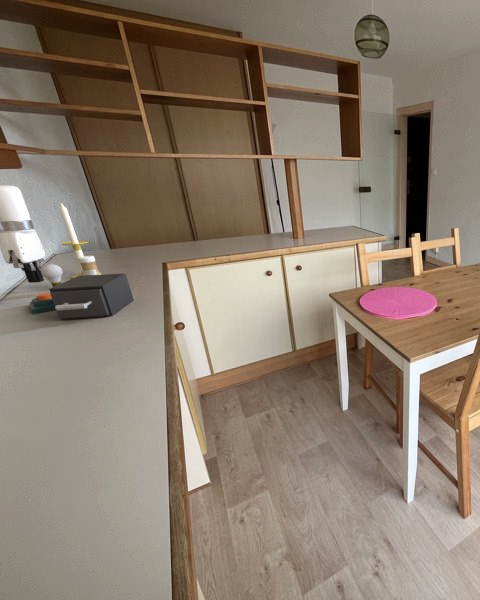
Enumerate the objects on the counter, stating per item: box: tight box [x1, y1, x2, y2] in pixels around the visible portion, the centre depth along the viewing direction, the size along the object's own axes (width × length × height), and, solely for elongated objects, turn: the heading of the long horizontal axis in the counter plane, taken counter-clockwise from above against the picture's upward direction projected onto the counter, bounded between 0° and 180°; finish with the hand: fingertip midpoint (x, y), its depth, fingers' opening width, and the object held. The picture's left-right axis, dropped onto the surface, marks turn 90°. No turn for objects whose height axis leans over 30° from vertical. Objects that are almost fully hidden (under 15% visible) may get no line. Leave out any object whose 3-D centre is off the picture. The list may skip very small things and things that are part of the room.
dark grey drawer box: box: [48, 273, 135, 321], centre depth 106 cm, size 15×14×11 cm
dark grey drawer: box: [49, 288, 109, 320], centre depth 103 cm, size 18×12×9 cm
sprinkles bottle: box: [77, 255, 100, 275], centre depth 124 cm, size 5×5×13 cm
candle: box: [59, 202, 102, 279], centre depth 137 cm, size 10×10×32 cm
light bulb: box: [40, 263, 64, 287], centre depth 125 cm, size 6×6×10 cm
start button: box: [36, 292, 52, 300], centre depth 107 cm, size 4×4×2 cm
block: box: [29, 297, 57, 315], centre depth 108 cm, size 10×8×4 cm
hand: (36, 281), depth 105 cm, fingers closed
